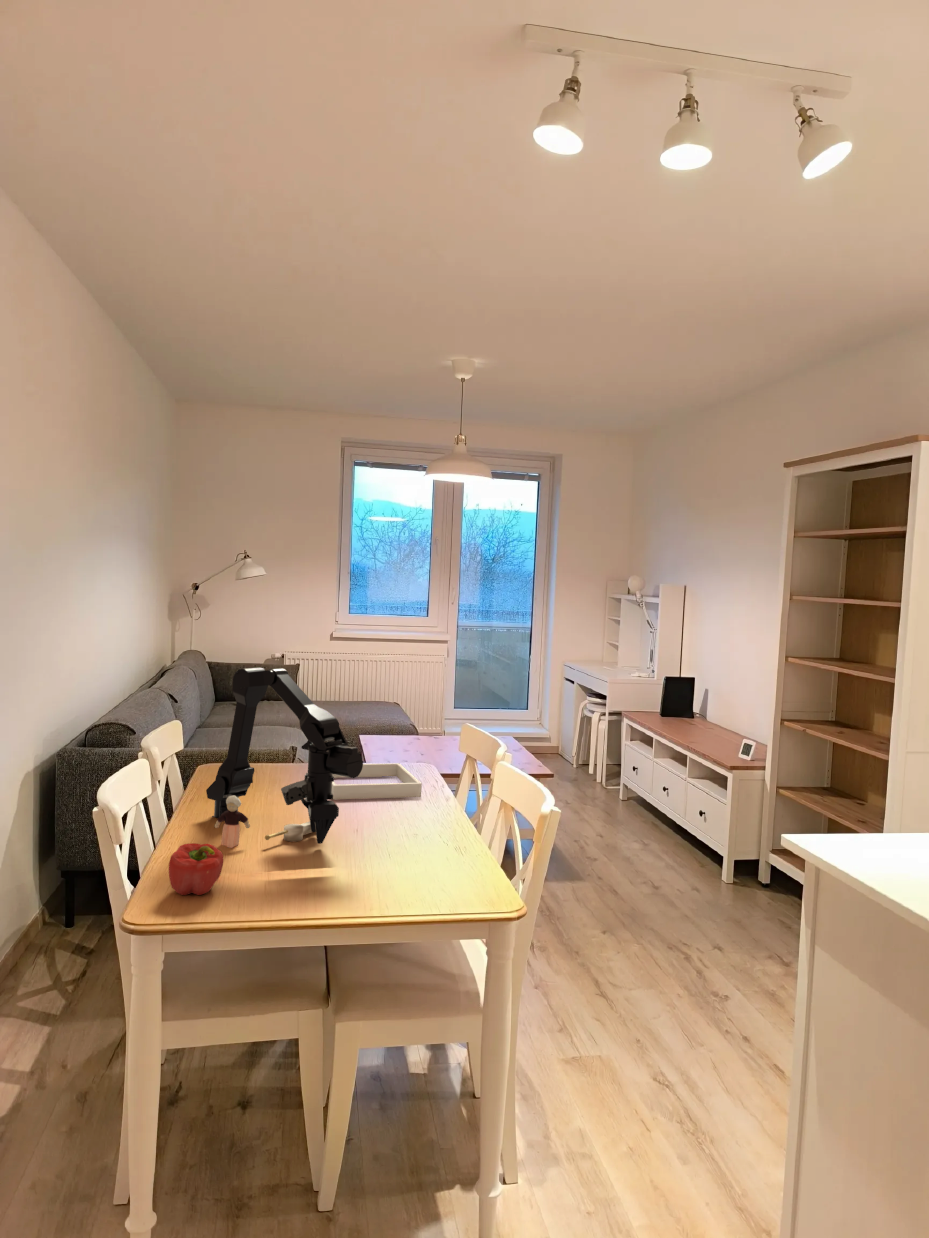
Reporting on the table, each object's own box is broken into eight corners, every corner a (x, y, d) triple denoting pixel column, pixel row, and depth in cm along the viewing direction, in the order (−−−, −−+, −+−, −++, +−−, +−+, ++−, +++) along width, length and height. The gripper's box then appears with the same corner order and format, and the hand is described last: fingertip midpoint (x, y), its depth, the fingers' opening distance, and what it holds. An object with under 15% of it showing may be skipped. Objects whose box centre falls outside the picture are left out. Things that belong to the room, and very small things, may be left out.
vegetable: (234, 894, 161) (237, 843, 161) (186, 907, 153) (188, 854, 153) (204, 878, 168) (207, 830, 168) (157, 890, 161) (159, 839, 160)
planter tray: (317, 777, 257) (318, 764, 257) (398, 775, 266) (399, 763, 266) (332, 799, 233) (333, 785, 233) (421, 796, 242) (421, 783, 241)
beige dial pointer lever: (272, 849, 184) (272, 837, 183) (258, 845, 186) (258, 833, 186) (329, 830, 200) (330, 819, 200) (316, 826, 202) (316, 815, 202)
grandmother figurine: (213, 854, 183) (215, 798, 182) (213, 848, 186) (216, 793, 186) (248, 853, 185) (251, 797, 184) (248, 847, 188) (251, 793, 188)
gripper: (280, 762, 196) (276, 827, 197) (289, 781, 179) (286, 852, 179) (326, 761, 200) (323, 825, 201) (340, 780, 182) (337, 849, 183)
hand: (316, 837), depth 191 cm, fingers open, 8 cm apart
